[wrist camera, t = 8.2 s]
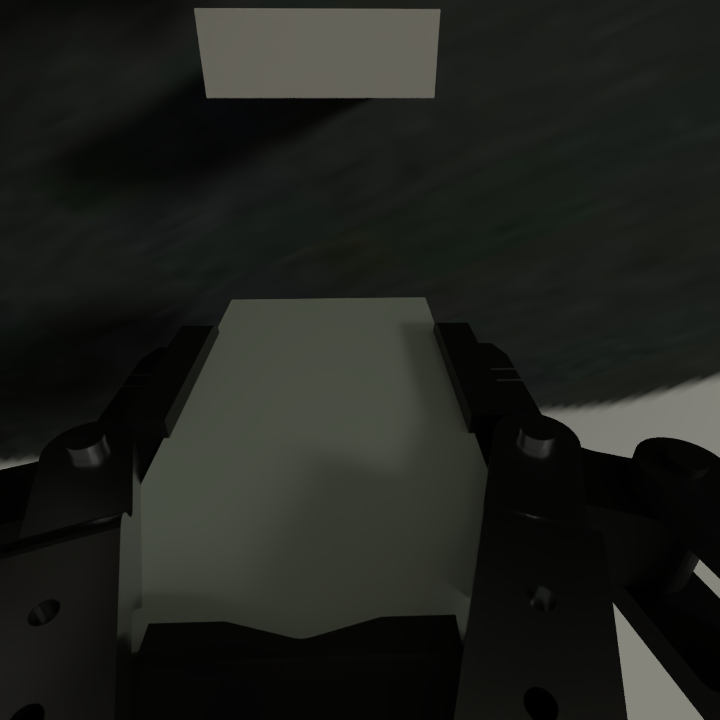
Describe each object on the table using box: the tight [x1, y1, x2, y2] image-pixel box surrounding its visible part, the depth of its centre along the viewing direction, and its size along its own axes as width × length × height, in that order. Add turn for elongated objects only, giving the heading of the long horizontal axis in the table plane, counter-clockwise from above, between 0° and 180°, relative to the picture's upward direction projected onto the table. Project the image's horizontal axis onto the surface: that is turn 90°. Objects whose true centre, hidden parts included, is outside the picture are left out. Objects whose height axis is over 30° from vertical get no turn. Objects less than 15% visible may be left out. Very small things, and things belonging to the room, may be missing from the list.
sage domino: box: [132, 297, 488, 653], centre depth 9 cm, size 2×5×10 cm, turn 90°
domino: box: [194, 8, 440, 98], centre depth 15 cm, size 2×5×10 cm, turn 90°
